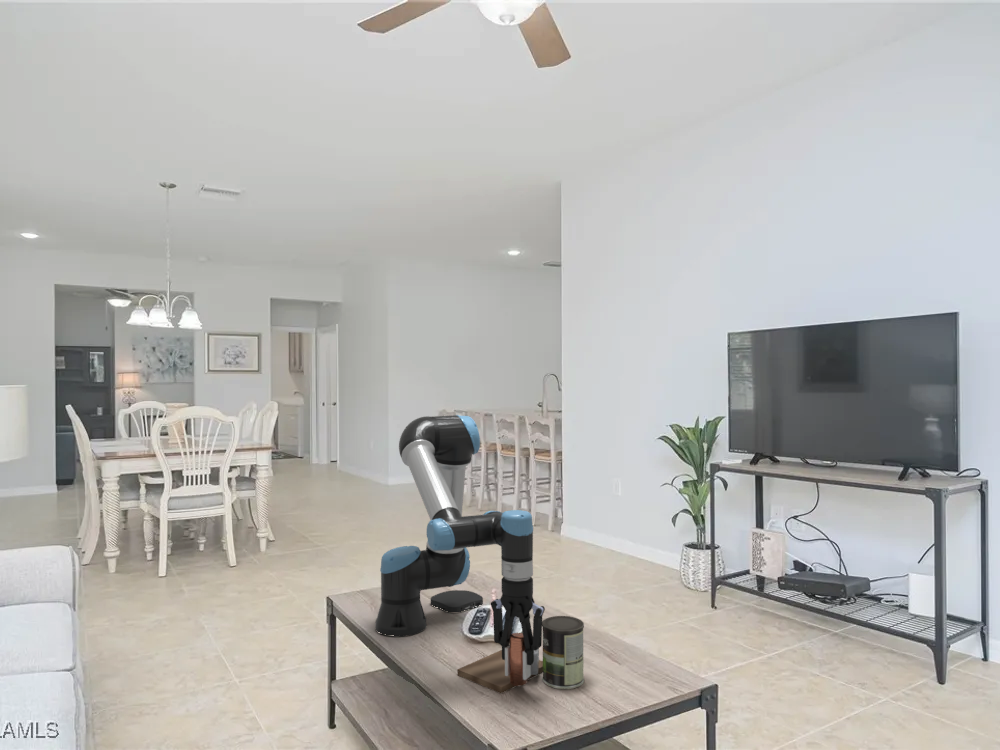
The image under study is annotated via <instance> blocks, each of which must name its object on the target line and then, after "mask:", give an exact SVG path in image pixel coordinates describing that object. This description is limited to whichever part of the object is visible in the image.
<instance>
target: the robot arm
mask: <svg viewBox="0 0 1000 750" xmlns="http://www.w3.org/2000/svg"><path fill="white" fill-rule="evenodd" d="M480 448H481V438H480V431H479V429H478V425H477V423H476V422H475V420H474V419H473V418H472V417H471V416H469V415H459V414H456V415H440V416H439V415H434V416H429V415H428V416H421V417H417V418H416V419H414V420H412V421H411V422H409V423H408V425H407V426H406V427H405V428H404V429H403V431H402V433H401V434H400V436H399V441H398V451H399V456H400V458H401V461H402V462H403V464H404V465H405V466H407V467H408V468H409V471H410V473H411V475H412V478H413V480H414V483H415V485H416V488H417V490H418V492H419V495H420V497H421V499H422V502H423V504H424V508H425V510H426V512H427V514H428V517H429V519H430V520H429V521H428V523H427V526H426V538H427V542H426V549H423V550H421V549H420V547H419V546H416V545H409V546H408V545H403V546H399V547H395V548H392V549H390V550H387V551H386V552H385V553H384V554H383V555H382V556H381V559H380V560H381V563H380V593H381V594H380V597H381V598H380V600H381V601H380V605H379V610H378V613H377V616H376V619H375V628H376V629H375V628H374V629H375V631H376V630H377V631H378V632H380V633H382V634H386V635H394V636H399V637H407V636H406V635H409V636H413V635H417V634H419V633H421V632H423V631H424V630H426V628H427V617H426V615H425V611H424V608H423V604H422V602H421V591H425V590H433V589H439V588H451V587H454V586H458V585H462V584H463V583H464V582H465V581H466V580H467V579H468V576H469V573H470V568H471V560H470V557H471V556H470V553H469V550H468V548H472V547H473V548H475V547H483V546H490V545H491V546H492V545H498V546H500V549H501V552H500V553H501V576H502V578H501V596H500V598H496V599H494V600H492V601H490V605H491V610H492V615H493V642H494V643H495V644H499V645H500V646H501V650H502V659H503V660H505V676H509V675H510V635H511V634H513V633H512V631H513V627H514V621H515V618H517V619H518V621H519V623H520V626H521V633H523V638H524V643H525V648H526V649H525V650H524V651H523V680H526V679H528V678H529V677H530V676H531V665H532V664H533V662H534V650H535V651H536V650H537V649H539V650H540V648H541V647H542V646H543V627H542V621H543V615H544V613H545V610H546V609H545V606H544V605H541V606H540V605H538V604H536V603H535V600H534V578H533V576H534V564H533V563H534V562H533V556H534V553H533V551H534V547H533V546H534V525H533V516H532V514H531V512H529V511H527V510H521V509H511V510H506V511H503V512H502V511H499V510H489V511H486V512H485V513H483V514H477V515H466V516H463V503H464V492H465V479H466V469H467V466H469V465H470V464H471V462H472V455H476V454H478V453H479V450H480ZM503 609H504V610H505V613H504V625H503ZM531 610H532V615H533V620H532V621H533V622H532V625H531V614H530V612H531ZM377 631H376V632H377ZM378 632H377V633H378ZM382 634H381V635H382ZM386 635H385V636H386ZM394 636H393V637H394Z"/></svg>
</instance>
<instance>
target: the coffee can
mask: <svg viewBox="0 0 1000 750" xmlns="http://www.w3.org/2000/svg"><path fill="white" fill-rule="evenodd" d="M584 627H585V623H584V622H583V620H581V619H580V618H577V617H574V616H570V615H569V616H567V615H555V616H550V617H547V618H544V619H542V661H543V673H542V678H541V679H542V682H543V683H544V684H545V686H548V687H550V688H553V689H557V690H573V689H575V688H578V687H581V686H582V685H583V684H584V681H585V679H584V677H585V676H584Z"/></svg>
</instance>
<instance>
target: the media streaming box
mask: <svg viewBox="0 0 1000 750" xmlns="http://www.w3.org/2000/svg"><path fill="white" fill-rule="evenodd" d="M482 604H484V598H483V596H482V595H481V594H478V593H477V592H473V591H470V590H463V589H462V590H460V589H459V590H457V589H456V590H452V589H451V590H446V591H443V592H439V593H436V594H435V595H433V596H431V597H430V606H431V605H433V606H435V607H438V608H441V609H443V610H445V611H448V612H447V613H449V612H460V613H462V612H461V611H464V610H467V609H470V610H472V609H471V608H473V607H475V606H479V605H482ZM433 606H432V607H433ZM482 606H483V605H482ZM435 607H434V608H435ZM438 608H437V609H438ZM443 610H442V611H443ZM445 611H444V612H445ZM467 611H468V610H467ZM464 612H465V611H464Z"/></svg>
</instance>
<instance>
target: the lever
mask: <svg viewBox="0 0 1000 750" xmlns="http://www.w3.org/2000/svg"><path fill="white" fill-rule="evenodd" d="M509 645H510V683H511V684H512V685H514V686H516V687H522V686H525V685H527V684H528V680H527V679H526V680H523V651H524V650H525V649H526V648H525V643H524V638H523V632H513V633H511V635H510V643H509ZM539 660H540V648H539V649H537V650H536V651H535V650H534V662H533V664H532V665H531V675H537V676H539V675H538V669H539Z"/></svg>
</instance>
